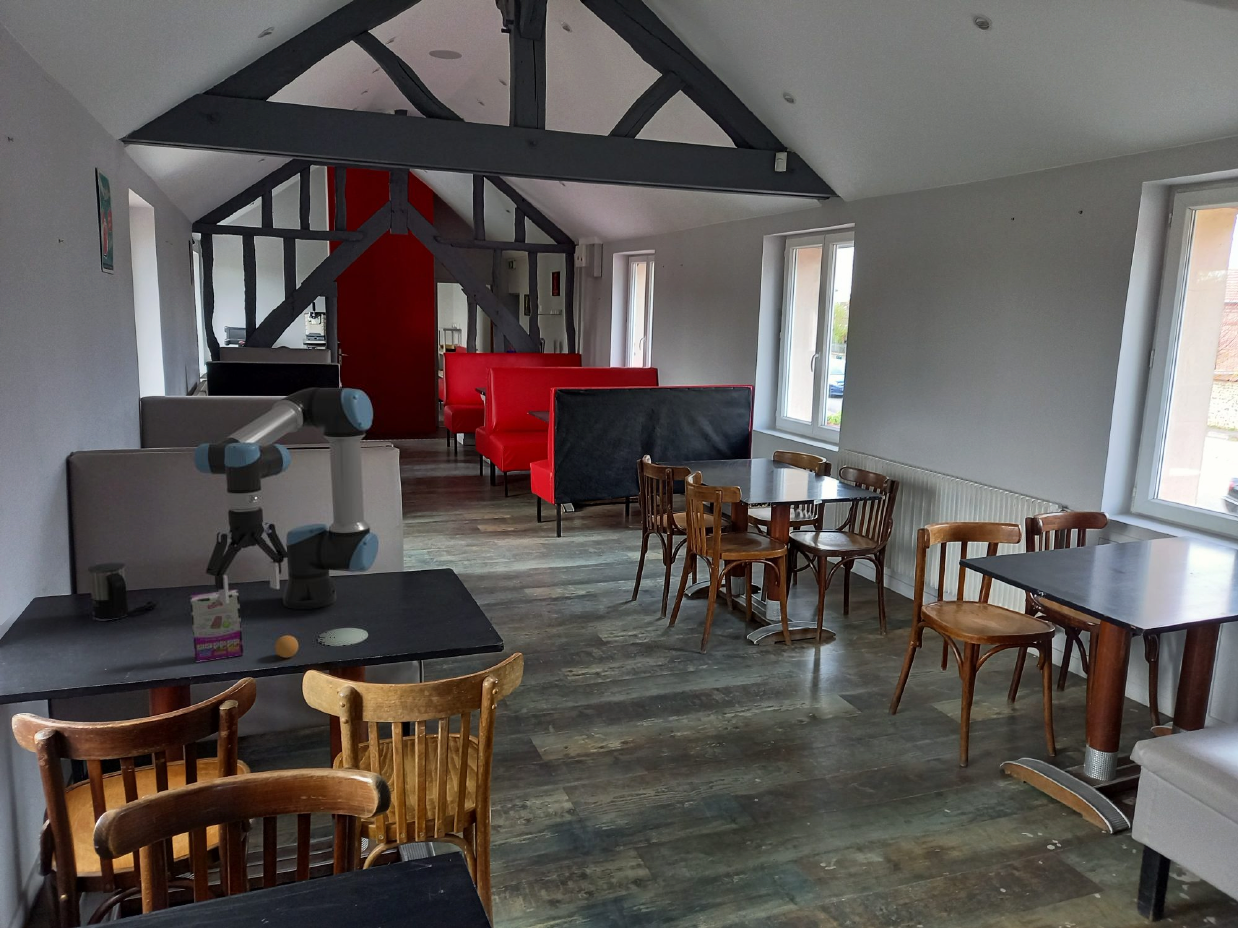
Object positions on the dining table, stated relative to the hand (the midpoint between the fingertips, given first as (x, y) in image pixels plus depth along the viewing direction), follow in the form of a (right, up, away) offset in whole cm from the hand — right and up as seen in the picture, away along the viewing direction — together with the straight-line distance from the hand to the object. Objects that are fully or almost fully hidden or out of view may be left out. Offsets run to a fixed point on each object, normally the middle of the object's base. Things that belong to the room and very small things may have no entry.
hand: (250, 594), depth 210 cm
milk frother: (-52, -12, +40) cm, 67 cm away
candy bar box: (-12, -17, +11) cm, 24 cm away
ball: (+5, -15, +10) cm, 19 cm away
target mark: (+15, -15, +25) cm, 32 cm away
